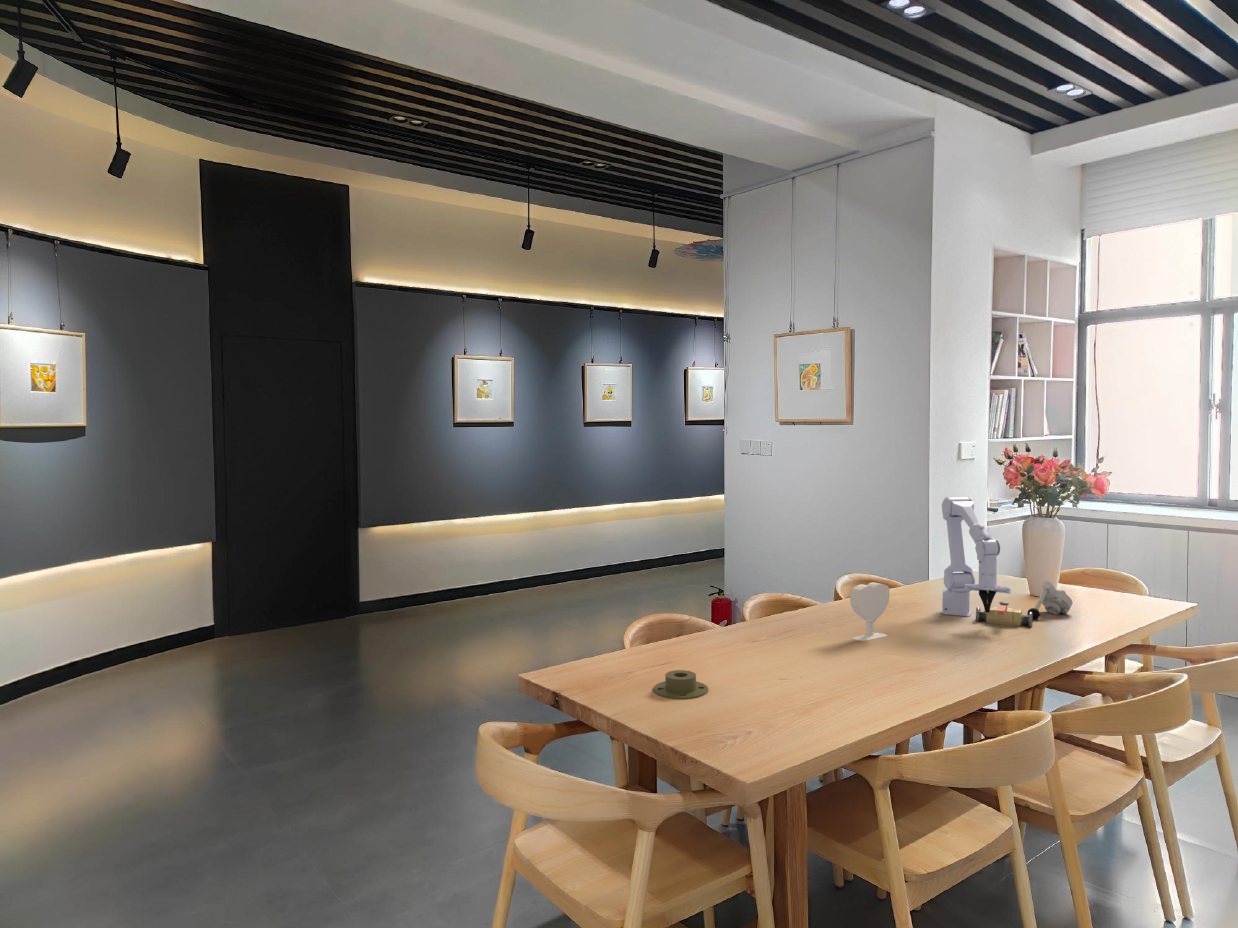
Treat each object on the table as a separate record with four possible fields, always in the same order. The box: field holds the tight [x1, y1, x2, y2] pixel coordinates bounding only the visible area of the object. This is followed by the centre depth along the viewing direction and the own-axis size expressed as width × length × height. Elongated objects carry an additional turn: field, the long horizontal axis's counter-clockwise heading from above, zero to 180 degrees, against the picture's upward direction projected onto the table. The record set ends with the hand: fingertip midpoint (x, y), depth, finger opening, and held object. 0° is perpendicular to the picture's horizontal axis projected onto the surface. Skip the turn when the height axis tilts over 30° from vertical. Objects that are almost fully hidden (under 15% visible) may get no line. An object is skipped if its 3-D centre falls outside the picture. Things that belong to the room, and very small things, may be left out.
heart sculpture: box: [849, 581, 890, 642], centre depth 274 cm, size 16×5×18 cm, turn 122°
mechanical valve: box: [1026, 580, 1073, 621], centre depth 299 cm, size 10×18×15 cm
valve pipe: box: [975, 606, 1034, 628], centre depth 290 cm, size 18×6×6 cm, turn 60°
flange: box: [653, 669, 709, 700], centre depth 223 cm, size 5×15×15 cm
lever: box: [998, 601, 1010, 615], centre depth 285 cm, size 13×3×2 cm, turn 150°
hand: (987, 611), depth 284 cm, fingers closed
